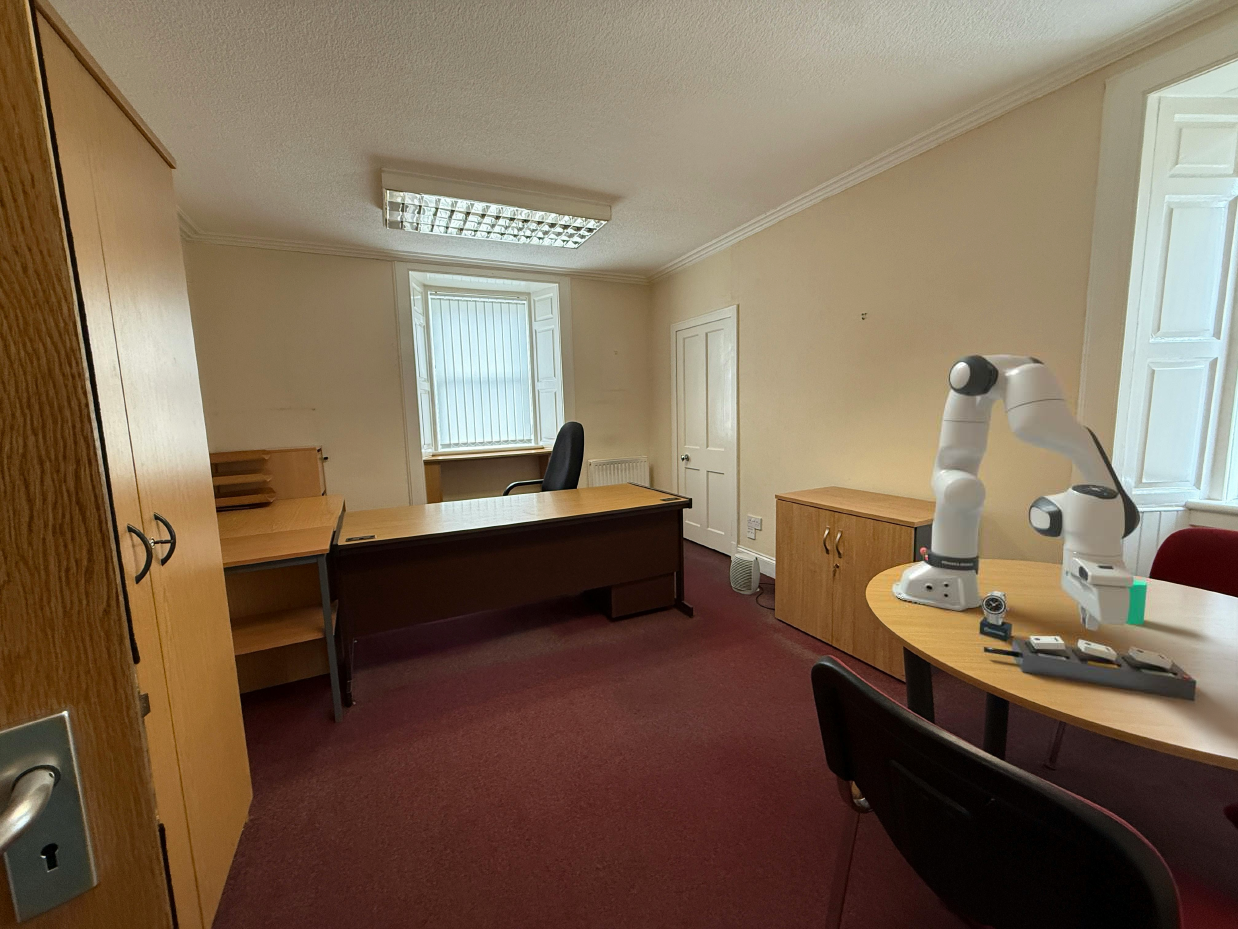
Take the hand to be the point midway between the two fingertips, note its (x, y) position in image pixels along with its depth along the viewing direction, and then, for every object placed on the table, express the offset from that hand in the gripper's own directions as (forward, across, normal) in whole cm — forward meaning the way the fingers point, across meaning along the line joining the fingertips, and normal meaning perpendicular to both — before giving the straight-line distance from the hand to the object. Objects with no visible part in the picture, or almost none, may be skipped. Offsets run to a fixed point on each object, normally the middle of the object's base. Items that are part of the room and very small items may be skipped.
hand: (1089, 627), depth 100 cm
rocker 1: (+5, 0, -7) cm, 8 cm away
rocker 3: (+5, 0, +9) cm, 11 cm away
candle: (+11, -36, +20) cm, 42 cm away
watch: (+10, -14, -13) cm, 22 cm away
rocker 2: (+5, 0, +1) cm, 5 cm away
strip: (+10, 0, -2) cm, 11 cm away
